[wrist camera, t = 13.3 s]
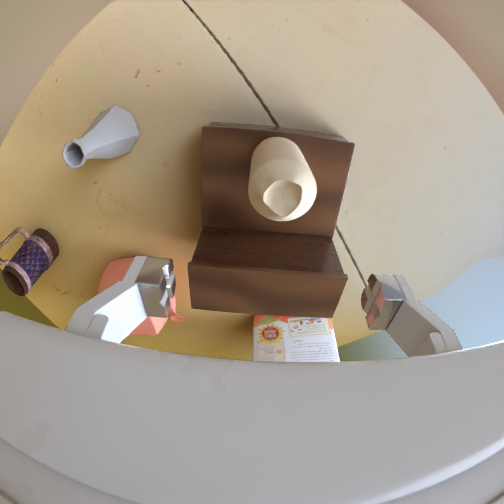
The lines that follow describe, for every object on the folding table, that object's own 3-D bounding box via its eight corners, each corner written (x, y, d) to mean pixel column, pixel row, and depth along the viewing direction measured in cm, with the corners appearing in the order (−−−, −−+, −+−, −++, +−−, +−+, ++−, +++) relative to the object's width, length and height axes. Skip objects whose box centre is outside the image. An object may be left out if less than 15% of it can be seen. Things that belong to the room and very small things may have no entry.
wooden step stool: (209, 120, 30) (182, 144, 20) (344, 135, 31) (383, 167, 20) (207, 246, 41) (191, 308, 31) (317, 255, 41) (332, 318, 31)
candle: (299, 185, 30) (314, 232, 22) (250, 182, 30) (246, 228, 22) (305, 138, 27) (325, 168, 19) (252, 134, 27) (248, 162, 19)
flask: (85, 130, 30) (40, 152, 22) (118, 94, 28) (73, 107, 20) (114, 166, 34) (75, 198, 25) (149, 135, 31) (113, 158, 23)
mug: (65, 254, 43) (33, 299, 33) (45, 260, 44) (15, 301, 34) (40, 208, 37) (-1, 248, 28) (21, 218, 38) (-16, 256, 29)
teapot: (94, 256, 43) (66, 297, 34) (187, 246, 41) (169, 295, 33) (118, 302, 49) (100, 344, 41) (204, 300, 48) (194, 349, 39)
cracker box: (254, 333, 53) (250, 434, 36) (253, 312, 49) (249, 423, 32) (325, 331, 52) (340, 429, 35) (330, 310, 48) (350, 417, 32)
